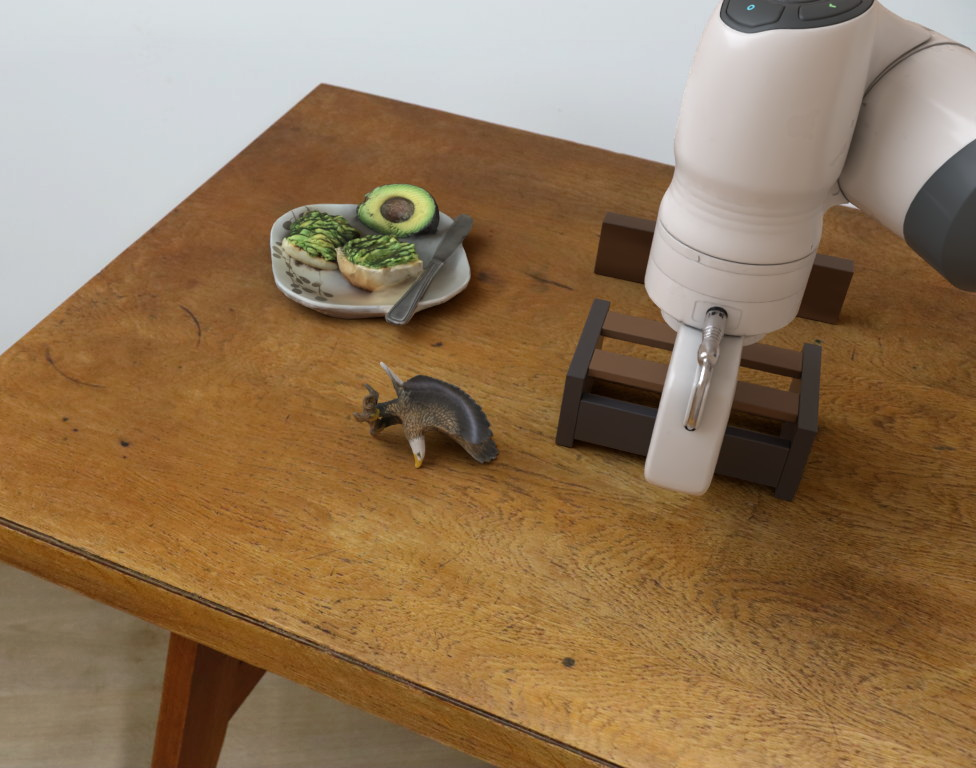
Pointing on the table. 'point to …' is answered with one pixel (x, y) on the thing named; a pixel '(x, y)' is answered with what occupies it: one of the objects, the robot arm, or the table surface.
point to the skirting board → (630, 249)
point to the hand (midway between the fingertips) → (679, 451)
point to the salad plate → (371, 255)
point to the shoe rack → (634, 423)
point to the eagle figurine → (430, 415)
